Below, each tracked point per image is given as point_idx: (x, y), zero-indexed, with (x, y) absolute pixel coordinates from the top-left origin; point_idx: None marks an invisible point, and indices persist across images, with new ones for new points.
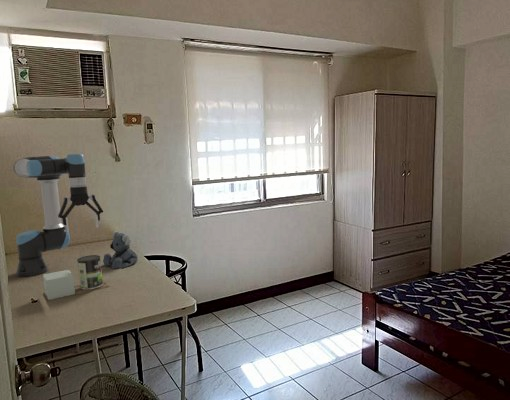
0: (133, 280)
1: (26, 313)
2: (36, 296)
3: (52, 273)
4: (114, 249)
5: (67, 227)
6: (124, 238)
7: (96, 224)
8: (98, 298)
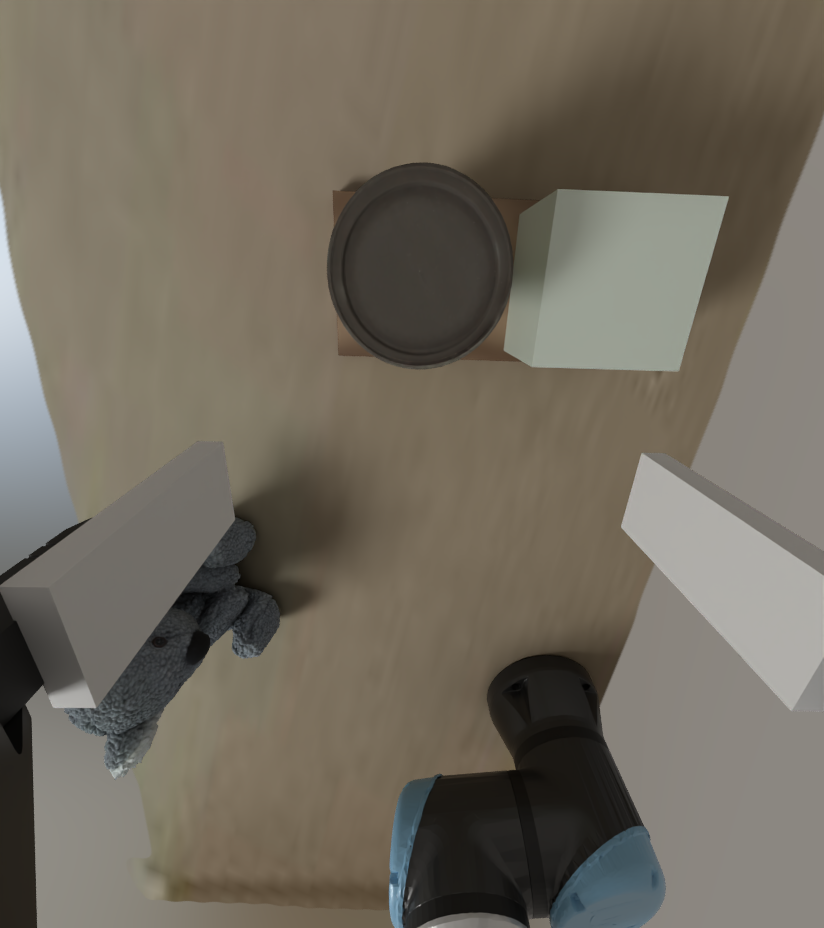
0: (187, 271)
1: (772, 136)
2: (638, 380)
3: (631, 352)
4: (195, 623)
5: (707, 483)
6: None
7: (202, 486)
8: (426, 77)
